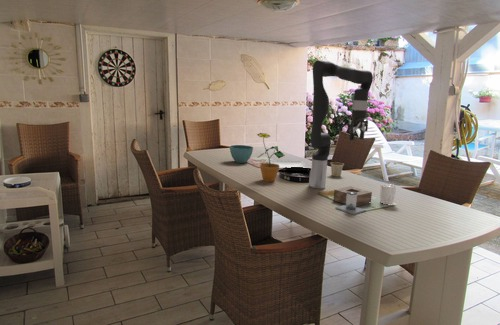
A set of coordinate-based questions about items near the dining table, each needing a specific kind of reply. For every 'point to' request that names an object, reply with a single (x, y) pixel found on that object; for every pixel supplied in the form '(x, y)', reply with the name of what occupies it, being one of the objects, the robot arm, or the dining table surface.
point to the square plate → (288, 163)
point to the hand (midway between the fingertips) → (356, 139)
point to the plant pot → (241, 153)
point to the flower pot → (336, 168)
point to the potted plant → (269, 169)
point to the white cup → (387, 193)
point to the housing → (362, 195)
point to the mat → (356, 211)
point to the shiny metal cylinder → (351, 200)
